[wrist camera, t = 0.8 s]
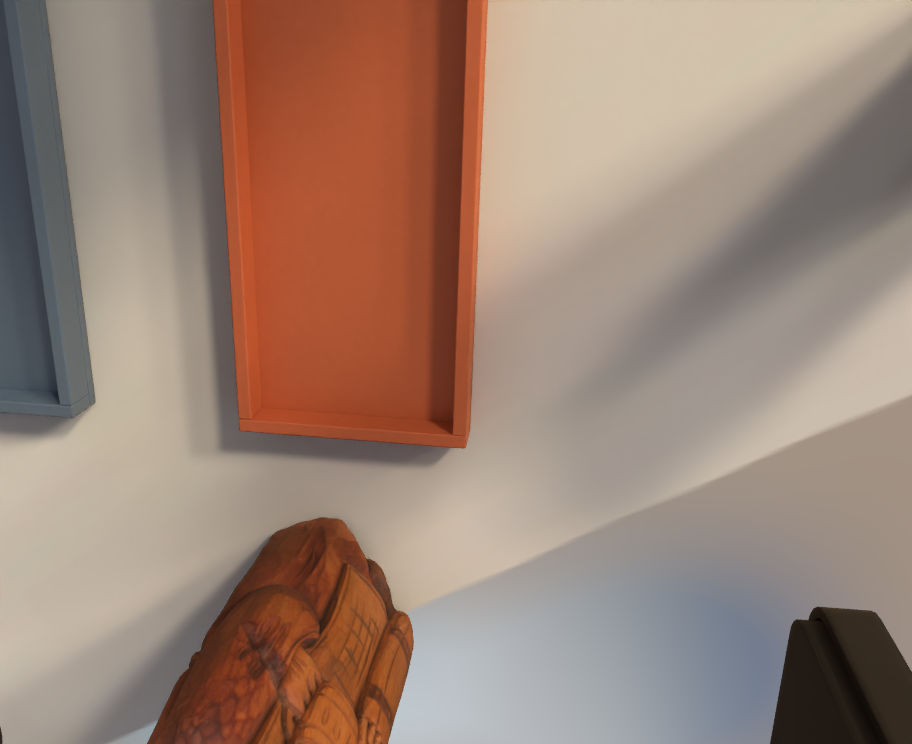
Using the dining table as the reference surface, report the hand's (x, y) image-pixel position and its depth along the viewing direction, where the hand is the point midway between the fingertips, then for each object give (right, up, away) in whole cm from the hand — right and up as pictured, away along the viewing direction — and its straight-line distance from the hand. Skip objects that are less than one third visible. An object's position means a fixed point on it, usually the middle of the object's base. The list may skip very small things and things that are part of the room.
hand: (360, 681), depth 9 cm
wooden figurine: (-5, -8, +33) cm, 34 cm away
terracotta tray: (-3, +11, +26) cm, 28 cm away
